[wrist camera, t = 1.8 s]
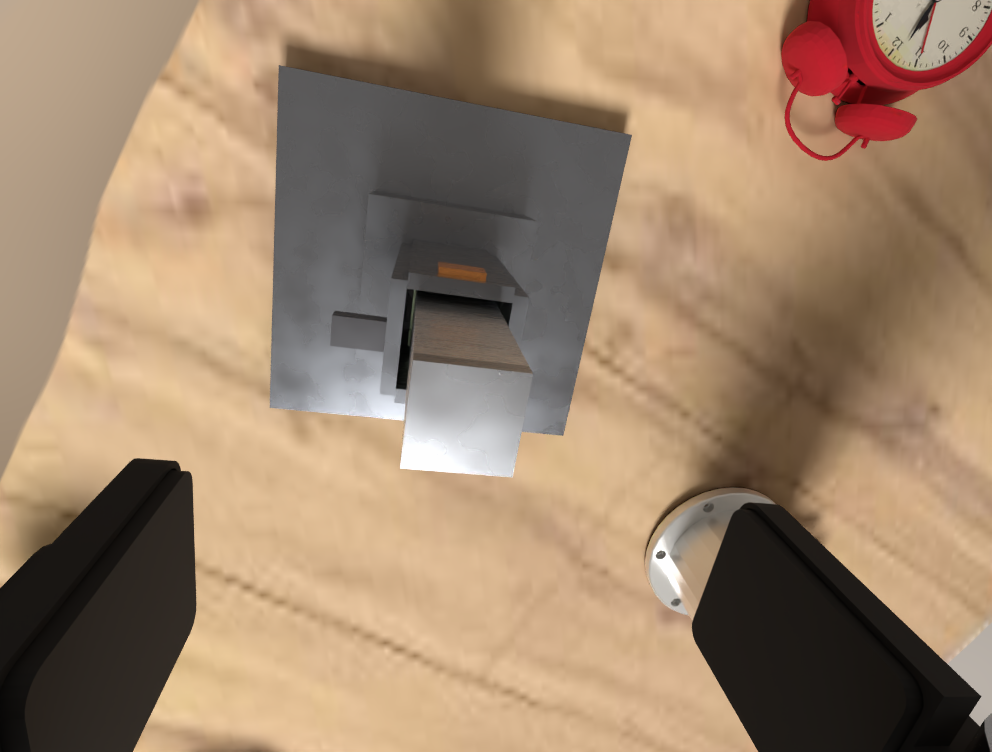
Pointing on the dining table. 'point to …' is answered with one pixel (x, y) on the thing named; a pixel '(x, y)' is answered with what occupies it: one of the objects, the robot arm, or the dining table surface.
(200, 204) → the dining table surface
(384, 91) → the charcoal stand
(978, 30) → the alarm clock
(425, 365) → the steel post
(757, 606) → the robot arm
